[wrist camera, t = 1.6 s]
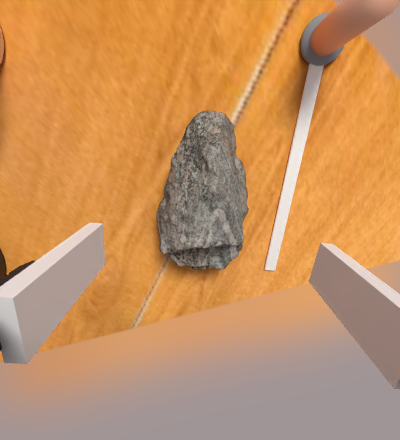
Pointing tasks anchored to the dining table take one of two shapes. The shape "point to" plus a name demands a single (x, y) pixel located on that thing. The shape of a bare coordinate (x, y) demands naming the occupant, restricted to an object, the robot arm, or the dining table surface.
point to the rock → (204, 196)
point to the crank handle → (316, 58)
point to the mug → (1, 46)
